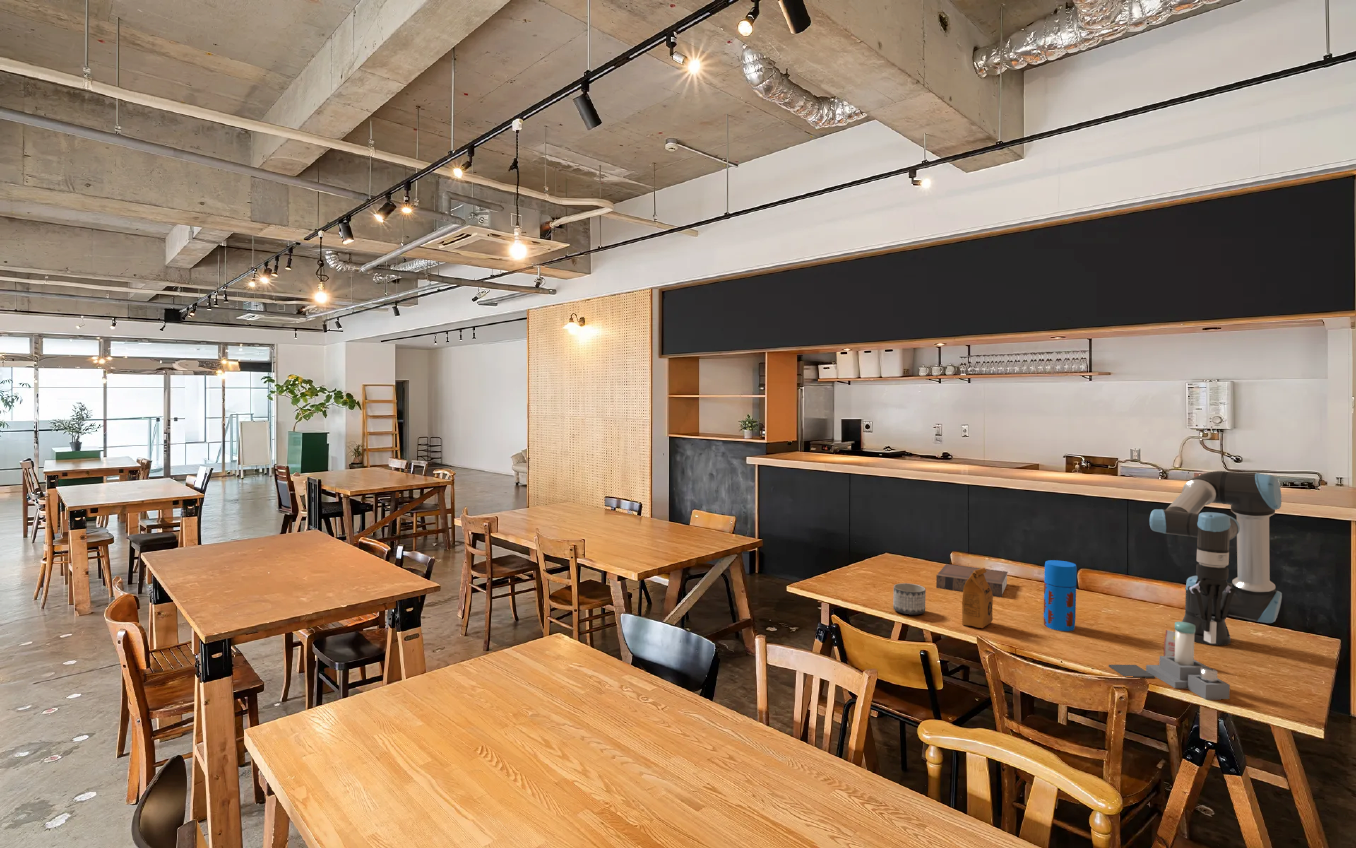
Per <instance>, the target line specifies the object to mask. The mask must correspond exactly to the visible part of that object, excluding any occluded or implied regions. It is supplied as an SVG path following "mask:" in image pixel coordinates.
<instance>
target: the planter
mask: <svg viewBox="0 0 1356 848" xmlns="http://www.w3.org/2000/svg"><path fill="white" fill-rule="evenodd" d="M926 589H927V588H925V586H922V585H920V584H915V583H907V582H902V583H897V584H894V585H893V596H892V597H893V600H892V601H893V603H892V605H893V610H894V611H896V612H898V613H900V614H904V615H906V614H909V615H908V616H915V615H916V616H917V615H922V614H925V613H926V597H927V596H926V593H927V592H926Z"/></svg>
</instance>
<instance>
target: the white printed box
mask: <svg viewBox="0 0 1356 848" xmlns="http://www.w3.org/2000/svg"><path fill="white" fill-rule="evenodd" d="M1163 656H1175V631H1172V630H1167V629H1166V630H1165V634H1164V641H1163Z"/></svg>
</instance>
